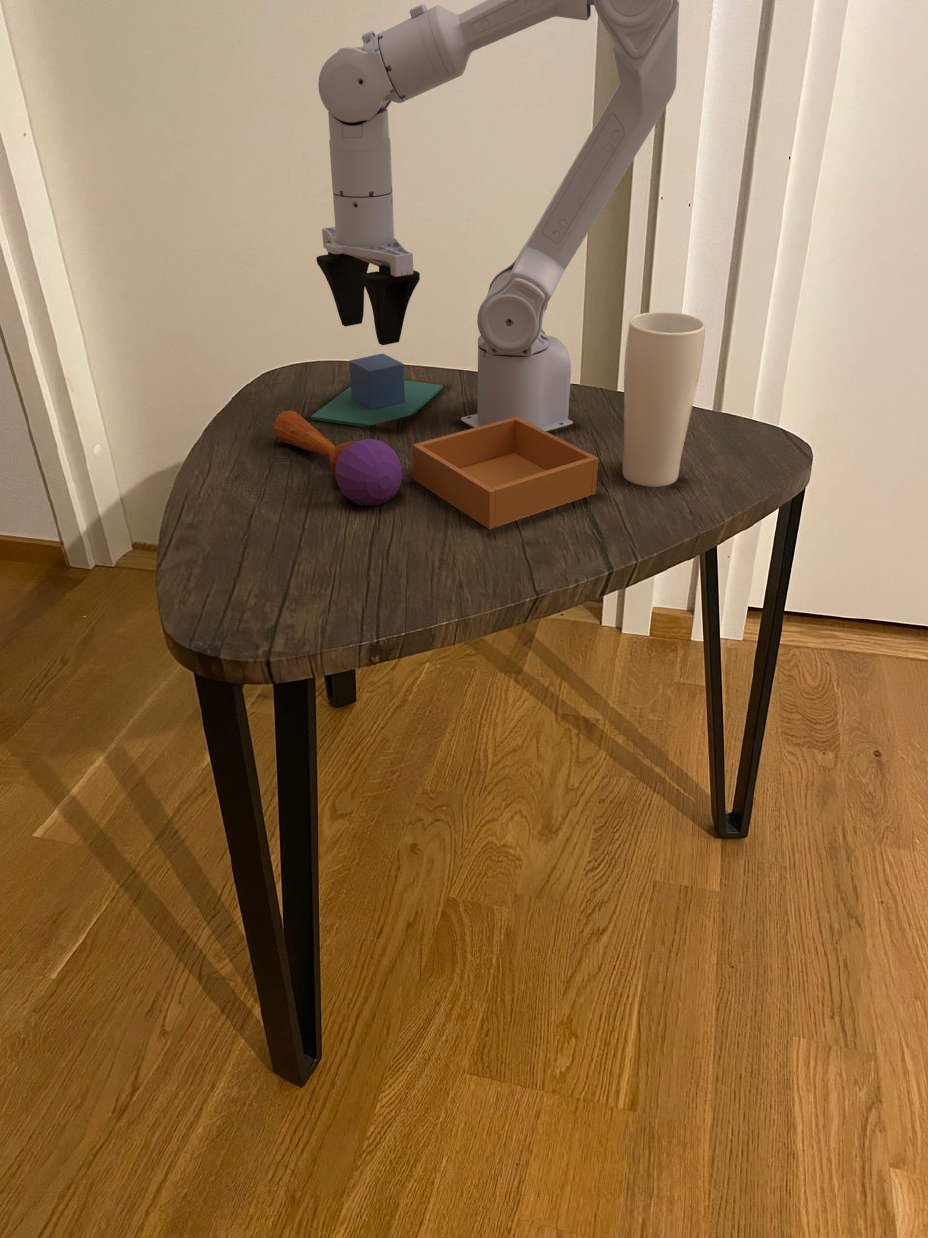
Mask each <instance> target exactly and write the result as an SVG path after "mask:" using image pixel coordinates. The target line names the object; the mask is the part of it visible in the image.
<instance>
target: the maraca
mask: <svg viewBox="0 0 928 1238" xmlns="http://www.w3.org/2000/svg"><path fill="white" fill-rule="evenodd" d="M272 429H273V433H274V435H275V437H276V439H277V440H279V441H280V442H282V443H284V444H288V445H290V446H293V447H297V448H300V449H303V450H305V451H309V452H312V453H315V454H318V455H321V456H324V457H326V458H329V461H330V466H331V473H332V475H333V476H334V478H335V480H336V484H337V486H338V488H339V490H340V492H341V493H342V495H343V496H344V497H346V498H347V499H348V500H350V501H351V502H353V503H355V504H357V505H358V506H368V507H370V506H371V507H376V506H379V505H382V504H385V503H387V502H388V501H390V500H391V499H392V498H393V497H395V495H396V494H397V492H398V491H399V489H400V488H401V484H402V481H403V476H404V475H403V465H402V463H401V461H400V460H401V459H399V456H398V454H397V453H396V451H395V450H394V448H392V447H391V446H389V445H388V444H387V443H385V442H383V441H381V440H378V439H373V438H365V439H361V440H354V439H353V440H349V441H346V442H342V443H341V444H338V445H334V444H333V443H332V442H331V441H330V440H329V439H328V438H326V437H325V436H324V435H323V434H322V433H321V432H320V431H318V430H317V429H316V428H315V427H314V426H313V425H311V423H310V422H308V421H307V420H306V419H305V418H304V417H303V416H301V414H299V413H298V412H296V411H294V410H286V411H283V412H281V413H279V414H278V415H277V417H276V418H275V420H274V423H273V428H272Z"/></svg>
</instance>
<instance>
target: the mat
mask: <svg viewBox="0 0 928 1238" xmlns="http://www.w3.org/2000/svg"><path fill="white" fill-rule="evenodd" d="M404 389H405V402H402V403H398V404H394V405H390V406H386V407H382V408H378V409H374V410H370V409H369V408H367V407H365V406H364V405H362V404H360V403H359V402H357V401H355V400H354V399H352V394H351V385H350V386H349V387H348V388H346V389H345V390H343V391H342V392H341V393H340V394H338V395H337V396H335V397H334V398H333V399H331V401H329V402H328V403H326V404H325V405H323V406H322V407H321V408H319V409H318V410H317V411H316V412H314V413H313V414H312V415H310V420H311V421H317V422H324V423H325V422H327V423H331V424H332V423H333V424H339V425H345V426H346V425H347V426H353V427H359V428H365V427H369V426H373V425H377V424H382V423H386V422H389V421H393V420H398V419H401V418H405V417H409V416H413V415H415V414H417V413H418V412H419V411H420V410H421V409H422V408H424V406H425V405H426V404H428V403H429V402H430V401H431V400H432V399H433V398H434V397H435V396H436V395H437V394H439V392H441V391H442V390H443V389H444V385H443V384H437V383H428V382H422V381H421V382H420V381H413V380H405V379H404Z"/></svg>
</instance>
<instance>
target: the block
mask: <svg viewBox="0 0 928 1238" xmlns="http://www.w3.org/2000/svg"><path fill="white" fill-rule="evenodd" d="M349 377H350V378H349V379H350V386H351V394H352V399H354V400H355V401H357V402H359V403H360V404H362V405H364V406H365V407H367V408H369V409H370V410H374V409H378V408H382V407H386V406H390V405H394V404H398V403H402V402H405V389H404V380H405V365H404V363H403V362H401V361H399V360H397V359H395V358H393V357H392V356H389V355H387V354H385V353H378V354H373V355H368V356H365V357H359V358H355V359H351V360H350V359H349Z"/></svg>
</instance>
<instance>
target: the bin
mask: <svg viewBox="0 0 928 1238" xmlns="http://www.w3.org/2000/svg"><path fill="white" fill-rule="evenodd" d="M598 469H599V457H598V456H596V455H594V454H591V453H590V452H587V451H585V450H584V449H582V448H579V447H577V446H576V445H574V444H571V443H570V442H568V441H566V440H564V439H562V438H560V437H558V436H556V435H554V434H552V433H550V432H549V431H544V430H542V429H540V428H538V427H536V426H534V425H532V424H530V423H528V422H526V421H524V420H522V419H520V418H518V417H513V418H509V419H505V420H502V421H498V422H494V423H491V424H487V425H483V426H480V427H476V428H474V427H472V428H469V429H464V430H462V431H458V432H454V433H450V434H447V435H443V436H439V437H435V438H432V439H428V440H424V441H421V442H417V443H414V444H412V475H413V476H412V477H413V481H415V482H416V483H418V484H420V485H421V486H423V487H424V488H425V489H427V490H429V491H430V492H431V493H433V494H434V495H436V496H438V497H439V498H441V499H442V500H444V501H445V502H447V503H448V504H450V505H452V506H453V507H454V508H456V509H457V510H459V511H460V512H462V513H463V514H465V515H467V516H468V517H469V518H471V519H473V520H475V521H476V522H477V523H478V524H480V525H482V526H484V527H485V528H487V529H488V530H491V529H495V528H497V527H501V526H503V525H506V524H509V523H513V522H515V521H518V520H521V519H524V518H527V517H530V516H533V515H536V514H538V513H539V514H540V513H542V512H545V511H548V510H551V509H554V508H557V507H560V506H562V505H563V506H564V505H565V504H569V503H572V502H575V501H578V500H581V499H583V498H587V497H590V496H592V495H596V493H597V482H598Z"/></svg>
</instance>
